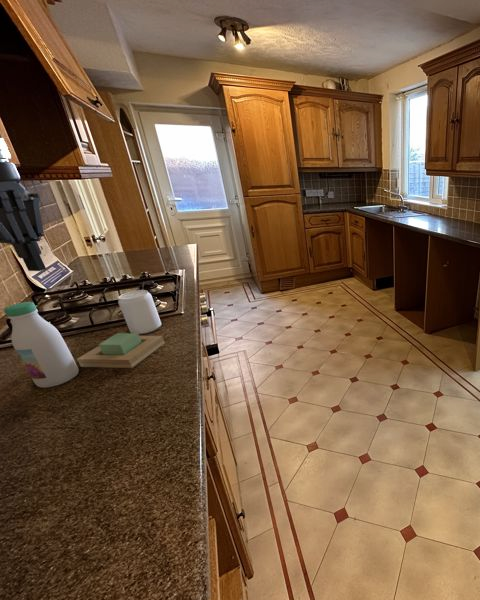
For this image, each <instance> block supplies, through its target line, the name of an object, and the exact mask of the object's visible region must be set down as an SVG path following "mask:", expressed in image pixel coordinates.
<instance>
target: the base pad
mask: <svg viewBox="0 0 480 600" xmlns="http://www.w3.org/2000/svg"><path fill="white" fill-rule="evenodd" d="M139 337H140V339H141V342H142V343H141V344H140V345H138V346H137V347H135V348H134V349H133V350H131V351H130V352H128V353H127V354H125V355H103V353H102V351H101V349H100V347H99V345H97V346H96V347H94V348H93V349H91V350H89V351H87V352H86V353H84V354H82V355H81V356H79V357H78V358H76V360H77V363H78V364H79V366H80V368H116V369H117V368H118V369H120V368H121V369H122V368H123V369H132V368H134V367H135V366H137V365H138V364H140V363H141V362H142V361H144V360H145V359H146V358H148V357H149V356H151V354H153V353H154V352H156V351H157V350H158V349H159V348H161V347H162V346H164V345H165V343H166V342H165V339H164V336H163V335H139Z"/></svg>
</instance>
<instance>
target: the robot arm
mask: <svg viewBox="0 0 480 600" xmlns="http://www.w3.org/2000/svg"><path fill="white" fill-rule="evenodd" d="M11 159H12V156H11V153H10V152H9V150H8V146H7V144H6V142H5V140H4V138H3V136H2V134H0V244H6V245H7V244H8V245H11V246H12V248H13V249H14V251H15V254H16V255H17V258H19V259H22V261H23V262H24V264H25V266H26V268H27V271H29V272H41V271H44V270H47V267H46V265H45V263H44V261H43V258H42V256H41V255H42V250H41V248H40V245H39V243H38V242H40V241H41V237H45V232H44V231H45V230H44V225H43V220H42V215H41V209H40V201H41V194H39V193H37V192H35V193H34V192H31V191H28V190H26V188H25V187H24V185H23V184H21V183H20V180H21V176H20V173H19V172H18V170H17V166H16V165H15V163H13V162H12V161H9V160H11Z"/></svg>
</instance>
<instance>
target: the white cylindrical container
mask: <svg viewBox="0 0 480 600" xmlns="http://www.w3.org/2000/svg"><path fill="white" fill-rule="evenodd" d="M117 303H118V306H119V308H120V311H121V313H122V316H123V318H124V320H125V323H126V325H127V328H128V330H129V333H138V334H139V335H144V334H148V333H152V332H154V331H156V330H158V329H159V328H160V327H161V326H162V320H161V319H160V316H159V312H158V310H157V307H156V303H155V300H154V299H153V296H152V294H151V293H150V292H149V291H148V290H146V289H136V290H132V291H128V292H125V293H122V294H120V295H119V296H118V301H117Z"/></svg>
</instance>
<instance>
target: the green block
mask: <svg viewBox="0 0 480 600" xmlns="http://www.w3.org/2000/svg"><path fill="white" fill-rule="evenodd" d="M139 336H140V334H138V333H131V332H129V333H128V332H117V333H115V334H114V335H112V336H110V337H109V338H107V339H106V340H104V341H101V342H100V343H99V344H98V346H99V347H100V349H101V351H102V353H103V355H125V354H127V353H128V352H130V351H131V350H133V349H134V348H135V347H137V346H138V345H140V344H141V343H142V342H141V339H140V337H139Z"/></svg>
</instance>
